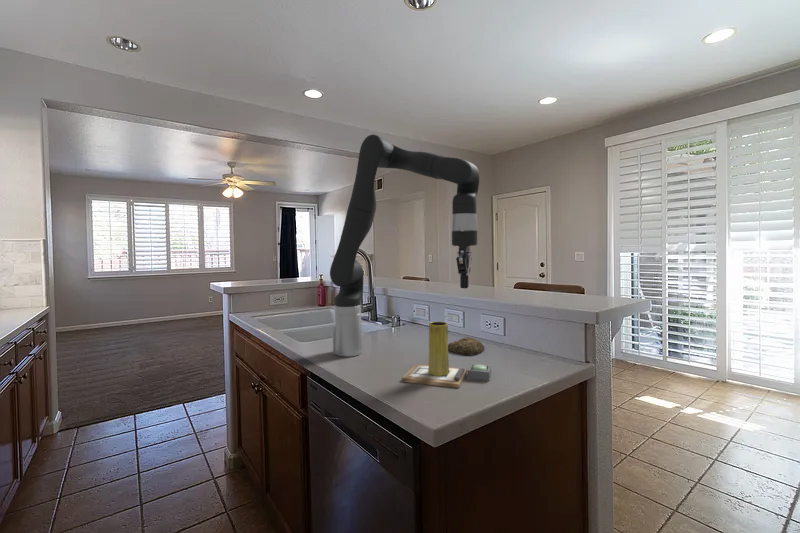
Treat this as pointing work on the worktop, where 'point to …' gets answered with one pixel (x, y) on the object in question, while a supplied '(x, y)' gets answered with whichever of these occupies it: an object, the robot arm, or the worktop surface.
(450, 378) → the clipboard
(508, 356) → the worktop surface
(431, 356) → the vase
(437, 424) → the worktop surface
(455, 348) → the bread roll
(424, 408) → the worktop surface
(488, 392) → the worktop surface
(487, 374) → the button housing
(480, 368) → the button
